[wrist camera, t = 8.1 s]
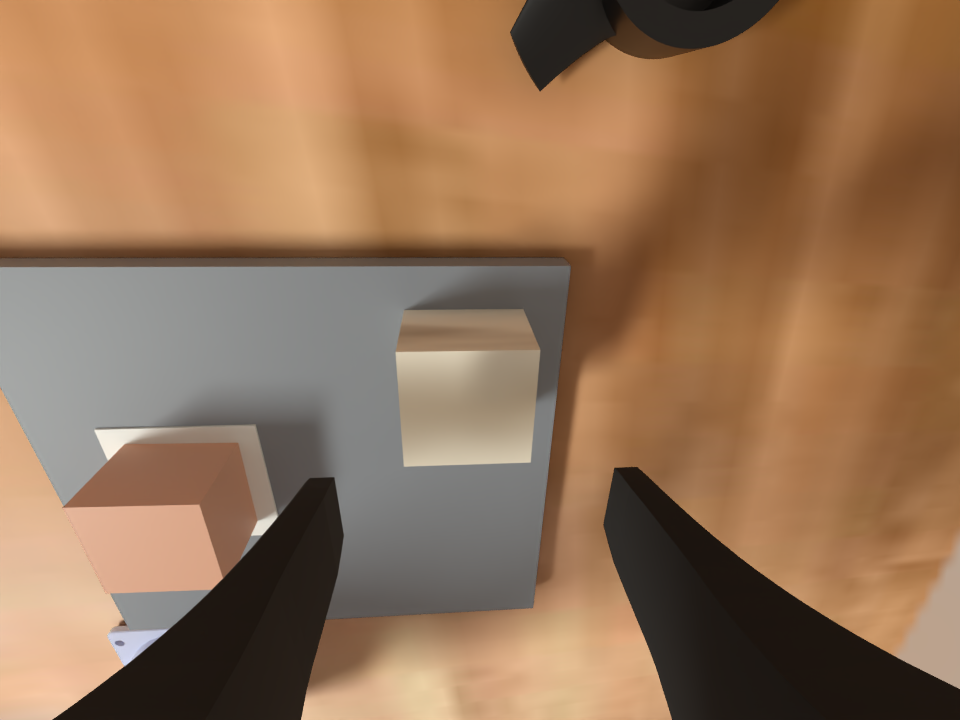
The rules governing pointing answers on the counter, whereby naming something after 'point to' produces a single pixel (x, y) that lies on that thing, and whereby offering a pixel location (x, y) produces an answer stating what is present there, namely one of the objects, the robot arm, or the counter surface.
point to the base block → (165, 517)
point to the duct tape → (625, 29)
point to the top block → (466, 386)
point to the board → (287, 405)
